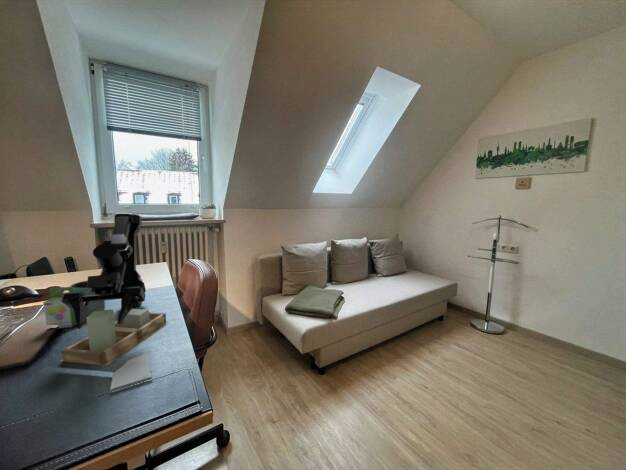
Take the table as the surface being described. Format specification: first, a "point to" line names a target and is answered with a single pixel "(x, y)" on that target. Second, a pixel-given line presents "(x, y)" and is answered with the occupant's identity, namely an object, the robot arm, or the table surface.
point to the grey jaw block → (136, 318)
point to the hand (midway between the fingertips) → (99, 325)
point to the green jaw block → (101, 330)
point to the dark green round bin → (83, 287)
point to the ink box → (59, 309)
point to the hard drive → (132, 373)
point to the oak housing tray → (124, 342)
